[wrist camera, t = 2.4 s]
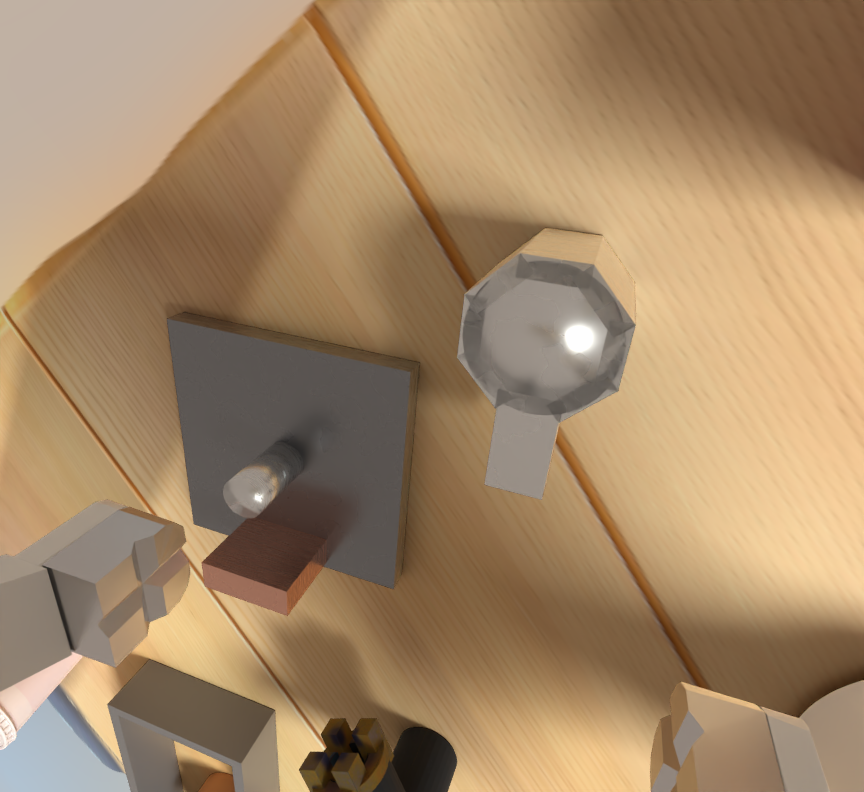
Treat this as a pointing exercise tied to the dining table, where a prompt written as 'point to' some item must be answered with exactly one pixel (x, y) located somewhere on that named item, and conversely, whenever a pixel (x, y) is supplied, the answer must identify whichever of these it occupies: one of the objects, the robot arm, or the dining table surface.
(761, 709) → the robot arm
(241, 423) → the grey square stand
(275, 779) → the parts corral
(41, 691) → the smoothie
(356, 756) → the pipe connector
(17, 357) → the dining table surface
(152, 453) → the dining table surface
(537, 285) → the octagonal handled mug
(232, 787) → the brown oblong hollow piece
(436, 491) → the dining table surface
